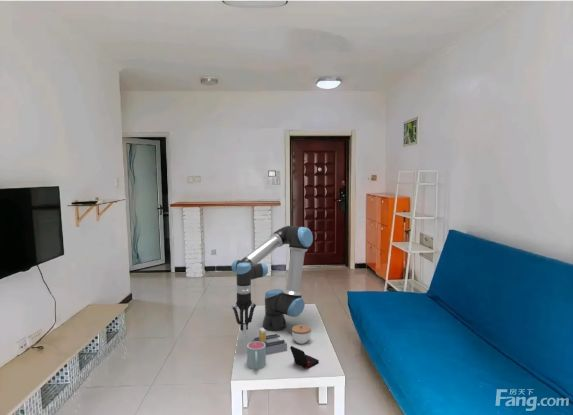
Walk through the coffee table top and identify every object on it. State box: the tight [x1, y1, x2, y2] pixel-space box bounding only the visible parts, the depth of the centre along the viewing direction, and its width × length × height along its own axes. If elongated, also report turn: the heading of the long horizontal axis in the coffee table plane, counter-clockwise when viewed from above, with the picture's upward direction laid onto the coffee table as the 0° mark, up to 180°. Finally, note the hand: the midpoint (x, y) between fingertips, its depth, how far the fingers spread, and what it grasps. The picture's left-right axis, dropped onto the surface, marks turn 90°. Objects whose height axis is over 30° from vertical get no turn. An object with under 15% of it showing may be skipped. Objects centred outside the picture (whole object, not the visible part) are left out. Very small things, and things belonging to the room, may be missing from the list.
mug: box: [246, 341, 267, 370], centre depth 183 cm, size 14×9×10 cm
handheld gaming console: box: [289, 345, 320, 370], centre depth 185 cm, size 9×12×10 cm
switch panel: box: [251, 333, 288, 356], centre depth 202 cm, size 16×12×5 cm
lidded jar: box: [291, 324, 312, 345], centre depth 211 cm, size 11×11×9 cm
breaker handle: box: [258, 327, 267, 343], centre depth 200 cm, size 4×5×7 cm
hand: (244, 335), depth 196 cm, fingers closed
